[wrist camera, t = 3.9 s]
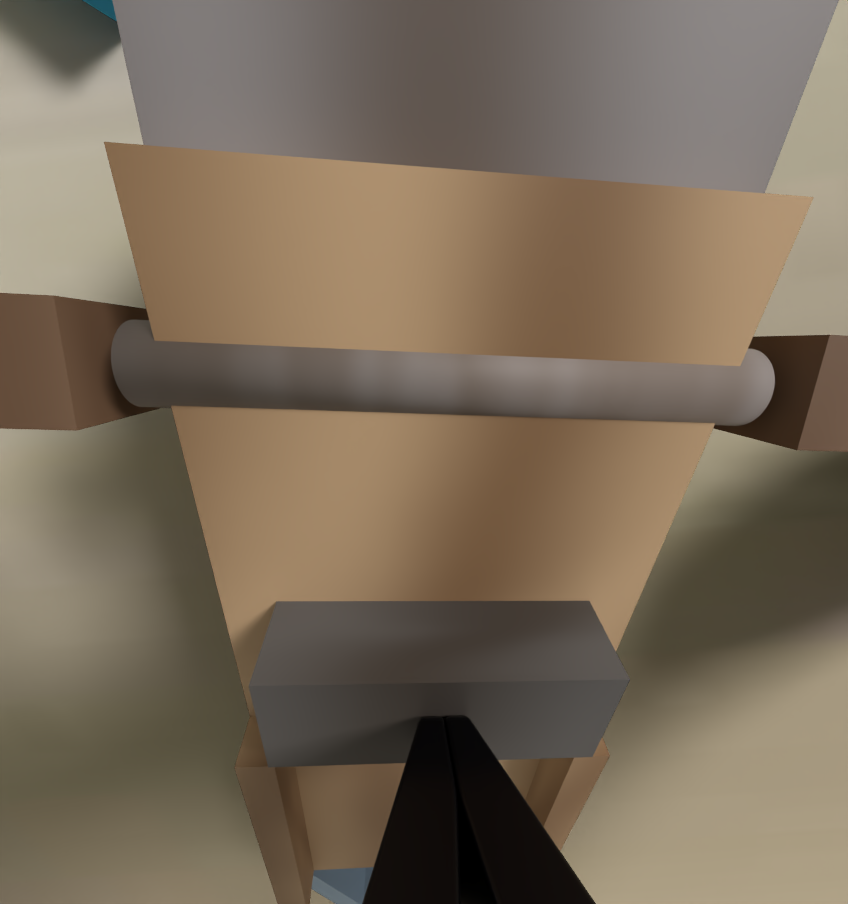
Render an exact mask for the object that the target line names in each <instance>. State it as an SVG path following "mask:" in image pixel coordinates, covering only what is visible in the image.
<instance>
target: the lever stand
mask: <svg viewBox="0 0 848 904" xmlns="http://www.w3.org/2000/svg"><path fill="white" fill-rule="evenodd" d="M128 320H149V317H148V313H147V309H142V308H136V307H129V306H122V305H115V304H108V303H101V302H94V301H87V300H80V299H73V298H66V297H59V296H49V295H29V294H10V293H0V428H7V429H44V430H81V429H84V428H88V427H92V426H96V425H99V424H103V423H107V422H110V421H114V420H118V419H122V418H125V417H129V416H133V415H137V414H140V413H144V412H148V411H152V410H155V409H159V408H160V407H138V406H135V405H133V404H132V403H130V402H129V401H128V400H127V399H126V398H125V397H124V396H123V394H122V393H121V391H120V390H119V388H118V386H117V384H116V381H115V378H114V375H113V371H112V364H111V347H112V342H113V338H114V335H115V333H116V331H117V329H118V328H119V327H120V326H121V324H123V323H124V322H126V321H128ZM748 349H755V350H758V351H760V352H762V353H763V354H764V355H765V356H766V357H767V358H768V359H769V360H770V362H771V364H772V367H773V369H774V374H775V386H774V391H773V395H772V398H771V400H770V402H769V404H768V406H767V407H766V409H765V410H764V411H763V413H762V414H761V415H760V416H759V417H757V418H756V419H755V420H753V421H752V422H750V423H748V424H745V425H740V426H724V425H714V428H715V429H718V430H722V431H726V432H730V433H734V434H737V435H741V436H745V437H749V438H753V439H756V440H760V441H764V442H768V443H772V444H776V445H779V446H783V447H787V448H791V449H795V450H808V451H845V452H848V336H840V335H808V336H765V337H753V338H752V340H751V343H750V345H749V347H748Z"/></svg>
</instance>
